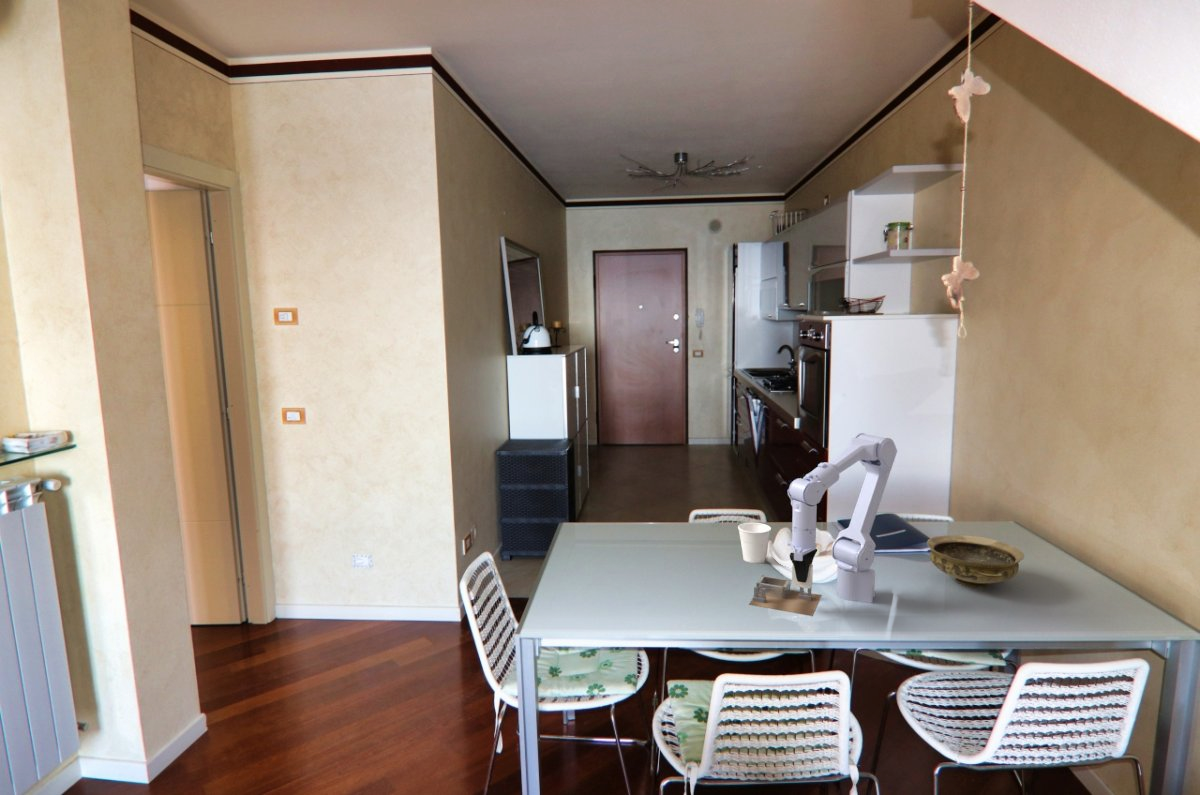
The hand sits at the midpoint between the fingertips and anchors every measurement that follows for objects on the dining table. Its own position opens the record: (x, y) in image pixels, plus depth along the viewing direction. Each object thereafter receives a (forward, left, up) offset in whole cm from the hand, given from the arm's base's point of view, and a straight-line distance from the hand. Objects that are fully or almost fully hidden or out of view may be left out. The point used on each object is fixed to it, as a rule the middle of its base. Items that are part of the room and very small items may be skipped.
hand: (803, 579), depth 175 cm
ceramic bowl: (-39, -40, -9) cm, 57 cm away
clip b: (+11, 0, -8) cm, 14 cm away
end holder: (+9, -7, -8) cm, 14 cm away
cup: (+20, -30, -9) cm, 37 cm away
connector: (0, 0, -2) cm, 2 cm away
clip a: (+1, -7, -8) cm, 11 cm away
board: (+5, -4, -9) cm, 11 cm away
